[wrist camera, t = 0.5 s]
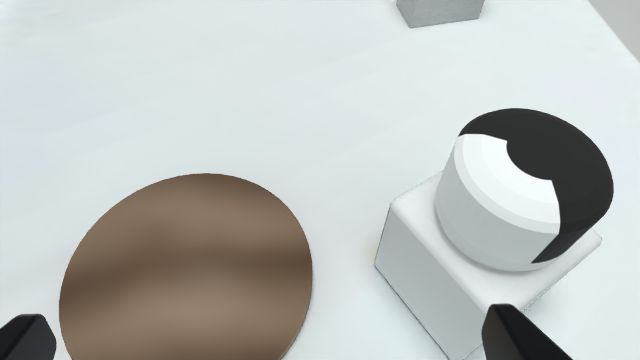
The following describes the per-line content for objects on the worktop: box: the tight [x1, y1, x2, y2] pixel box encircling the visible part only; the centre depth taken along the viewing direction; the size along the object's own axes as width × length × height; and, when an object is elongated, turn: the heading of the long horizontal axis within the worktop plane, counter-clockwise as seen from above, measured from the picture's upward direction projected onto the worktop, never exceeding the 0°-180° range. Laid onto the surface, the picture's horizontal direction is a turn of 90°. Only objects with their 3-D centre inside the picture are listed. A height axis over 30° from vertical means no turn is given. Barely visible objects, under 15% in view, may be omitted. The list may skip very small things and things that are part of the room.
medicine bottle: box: [375, 108, 614, 360], centre depth 22 cm, size 7×7×12 cm
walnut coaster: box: [59, 173, 312, 360], centre depth 26 cm, size 14×14×1 cm
